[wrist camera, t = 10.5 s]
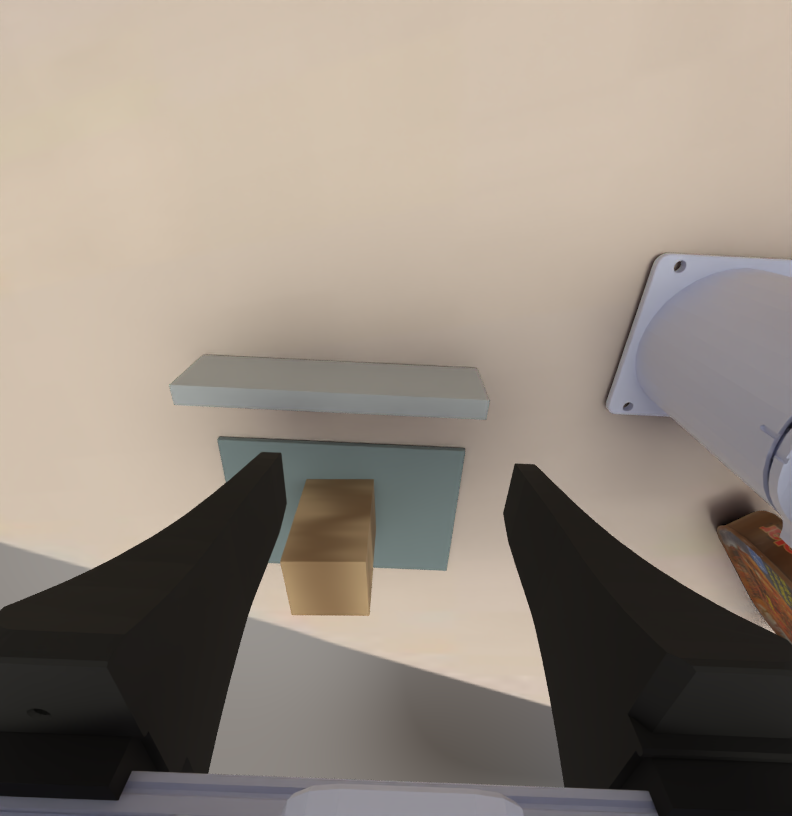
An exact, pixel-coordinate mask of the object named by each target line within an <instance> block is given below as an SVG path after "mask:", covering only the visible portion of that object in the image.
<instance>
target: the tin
mask: <svg viewBox="0 0 792 816" xmlns="http://www.w3.org/2000/svg"><path fill="white" fill-rule="evenodd" d="M782 528H783V520H782V519H781V518H780V517H778V516H777V515H775V514H773V513H770V512H767V511H756V512H753V513H751V514H748V515H746V516H744V517H742V518H740V519H738V520H735V521H733V522H731V523H729V524H727V525H725V526H723V525H721V526H719V527H718V528H717V534H718V536H719V539H720V541H721V543H722V545H723V546H724V548H725V550H726V552H727V554H728V556H729V558H730V560H731V562H732V563H733V565H734V567H735V569H736V571H737V573H738V575H739V577H740V579H741V581H742V583H743V585H744V586H745V588H746V590H747V592H748V594H749V596H750V598H751V600H752V601H753V603H754V604H755V606H756V607H757V609H758V610H759V612H760V613H761V615H762V616H763V617H764V619H765V620H766V621H767V623H768V624H769V625H770V627H771V628H772V629H773V631H774V632H775V633H776V634H777V635H779V636H781V637H783V638H785V639H787V640H788V641H789V642H790V643H791V644H792V548H791V547H790V546H788V545H787V544H786V543H785V542H784V541H783V540H782V539H781V538H780V534H781V531H782Z"/></svg>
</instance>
